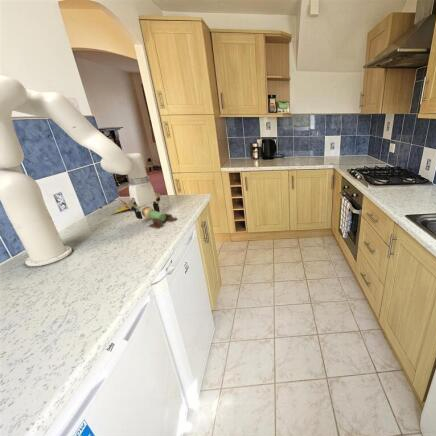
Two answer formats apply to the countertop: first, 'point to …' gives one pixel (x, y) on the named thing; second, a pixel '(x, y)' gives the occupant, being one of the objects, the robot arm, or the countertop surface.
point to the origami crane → (122, 207)
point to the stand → (158, 223)
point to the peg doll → (153, 213)
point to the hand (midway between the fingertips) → (148, 214)
